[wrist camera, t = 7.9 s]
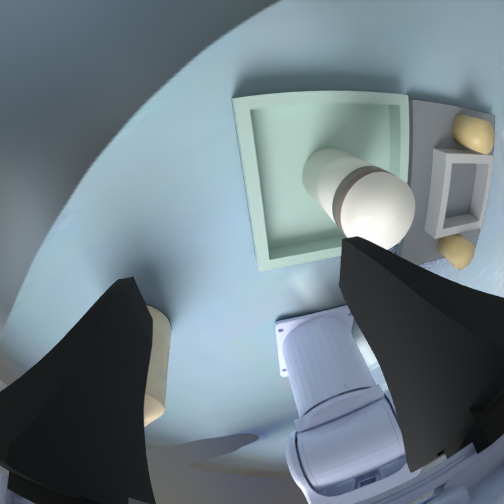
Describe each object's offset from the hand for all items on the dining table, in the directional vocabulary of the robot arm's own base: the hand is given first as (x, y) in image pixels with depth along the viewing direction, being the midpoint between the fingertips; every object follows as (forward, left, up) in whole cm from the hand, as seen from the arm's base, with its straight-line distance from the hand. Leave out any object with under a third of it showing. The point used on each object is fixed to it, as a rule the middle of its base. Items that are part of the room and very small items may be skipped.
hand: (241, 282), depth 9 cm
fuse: (0, -7, -10) cm, 12 cm away
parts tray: (0, -7, -10) cm, 13 cm away
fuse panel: (-2, -20, -10) cm, 23 cm away
